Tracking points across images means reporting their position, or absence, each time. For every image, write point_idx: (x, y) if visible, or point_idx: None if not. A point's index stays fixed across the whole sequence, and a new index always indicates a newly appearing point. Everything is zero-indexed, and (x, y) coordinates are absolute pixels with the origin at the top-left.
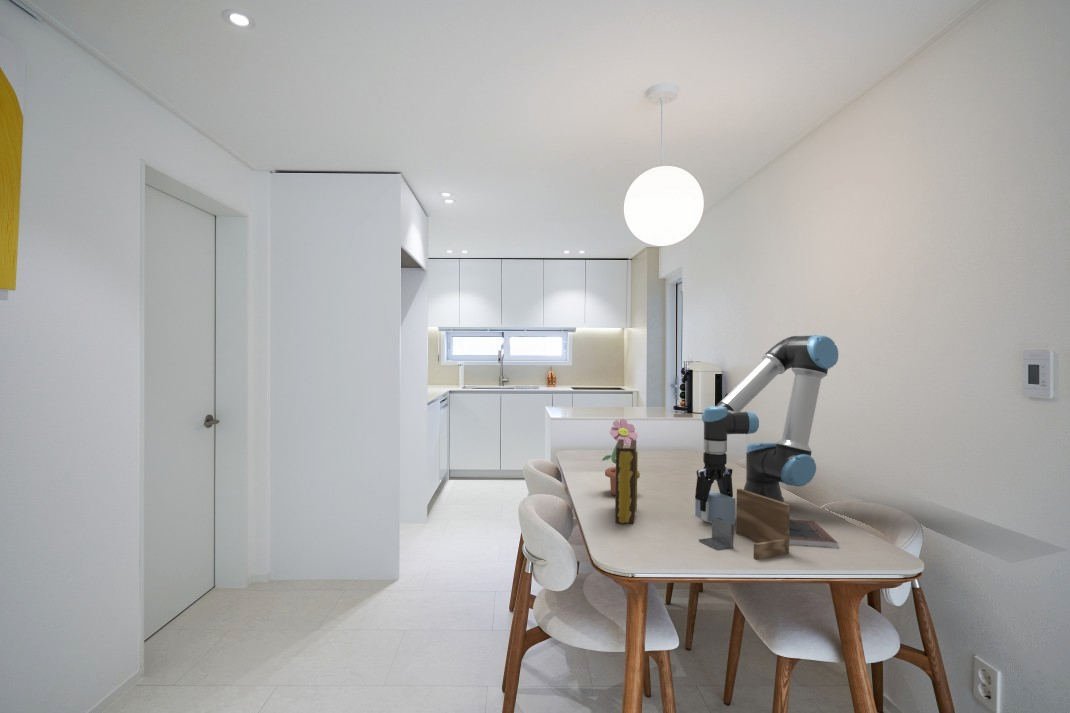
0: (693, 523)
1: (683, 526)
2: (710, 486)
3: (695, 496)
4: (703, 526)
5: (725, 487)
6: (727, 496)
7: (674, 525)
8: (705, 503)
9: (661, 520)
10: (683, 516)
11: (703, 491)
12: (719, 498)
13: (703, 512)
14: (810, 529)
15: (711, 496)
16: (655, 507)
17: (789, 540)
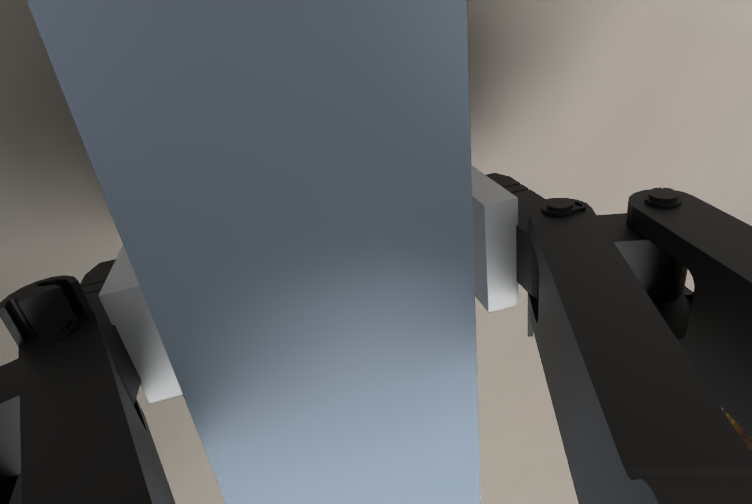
0: (548, 127)
1: (683, 60)
2: (626, 392)
3: (684, 301)
4: (521, 15)
5: (45, 501)
6: (143, 170)
7: (724, 104)
8: (512, 216)
9: None
10: (502, 317)
11: (733, 274)
12: (459, 23)
13: None
14: None
15: (466, 264)
16: (551, 494)
17: None
